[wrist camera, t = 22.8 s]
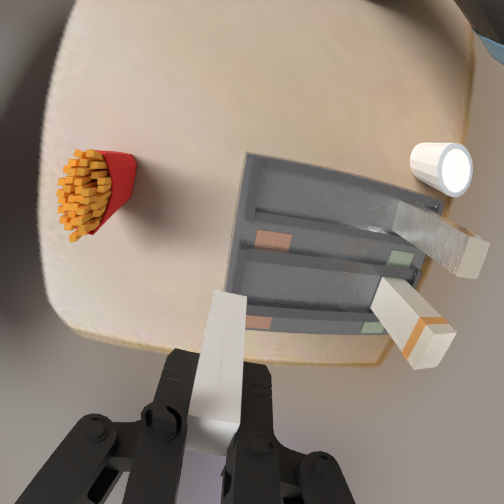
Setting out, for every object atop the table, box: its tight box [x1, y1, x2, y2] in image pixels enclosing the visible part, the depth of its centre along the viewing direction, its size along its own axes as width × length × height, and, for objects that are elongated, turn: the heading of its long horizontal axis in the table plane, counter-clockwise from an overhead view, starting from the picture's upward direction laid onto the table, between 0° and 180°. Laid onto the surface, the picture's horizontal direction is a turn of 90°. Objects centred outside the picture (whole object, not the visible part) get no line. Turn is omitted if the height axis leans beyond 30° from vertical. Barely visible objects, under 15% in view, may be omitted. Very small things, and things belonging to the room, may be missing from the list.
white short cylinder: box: [410, 143, 473, 197], centre depth 30 cm, size 7×7×7 cm
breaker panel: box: [223, 152, 490, 335], centre depth 30 cm, size 22×27×16 cm
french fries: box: [56, 149, 137, 242], centre depth 26 cm, size 8×4×12 cm, turn 163°
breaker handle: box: [370, 277, 457, 370], centre depth 31 cm, size 5×4×13 cm
